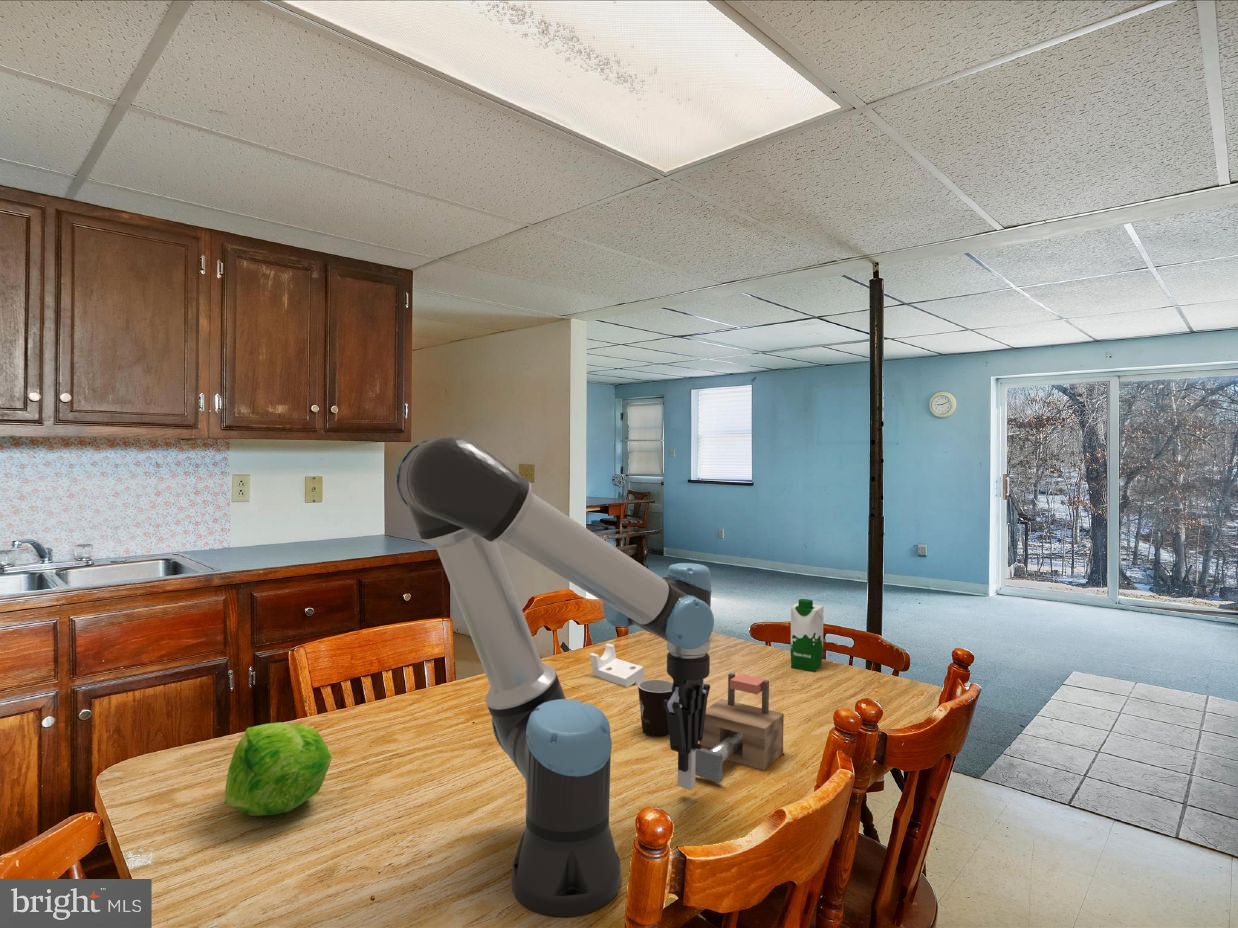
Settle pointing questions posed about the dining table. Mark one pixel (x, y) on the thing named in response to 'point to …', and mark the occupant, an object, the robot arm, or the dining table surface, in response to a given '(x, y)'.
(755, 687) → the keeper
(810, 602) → the milk carton
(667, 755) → the dining table surface
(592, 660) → the bracket
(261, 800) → the lettuce
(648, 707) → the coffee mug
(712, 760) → the pin
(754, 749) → the block
